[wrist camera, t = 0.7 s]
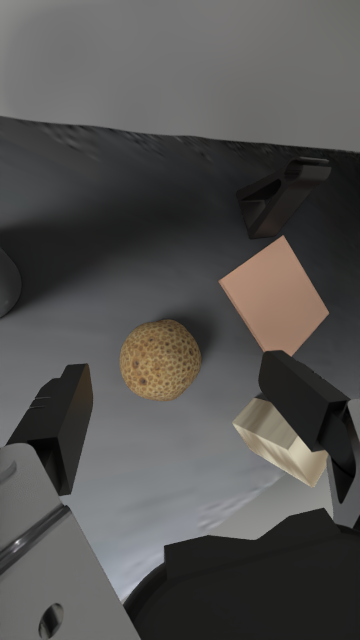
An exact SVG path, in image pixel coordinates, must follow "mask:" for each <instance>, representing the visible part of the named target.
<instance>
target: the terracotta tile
mask: <svg viewBox="0 0 360 640" xmlns="http://www.w3.org/2000/svg"><path fill="white" fill-rule="evenodd" d="M219 283H220V284H221V286H222V288H223V289H224V291H225V292H226V294H227V295H228V297H229V299H230V300H231V302H232V303H233V305H234V306H235V308H236V309H237V311H238V313H239V314H240V316H241V317H242V319H243V320H244V322H245V323H246V325H247V327H248V328H249V330H250V331H251V333H252V334H253V336H254V337H255V339H256V341H257V342H258V344H259V345H260V347H261V348H262V350H263V352H265V351H271V350H283V351H284V352H286V353H287V354H288V355H290V356H292V355H293V354H294V353H295V352H296V351H297V349H298V348H299V347H300V346H301V345H302V344H303V343H304V341H305V340H306V339H307V338H308V337H309V336H310V335H311V333H312V332H313V331H314V330H315V329H316V328H317V327H318V325H319V324H320V323H321V322H322V321H323V320H324V319H325V318H326V316H327V315H328V314H329V312H328V310H327V308H326V307H325V305H324V303H323V302H322V300H321V298H320V297H319V295H318V293H317V291H316V290H315V288H314V286H313V285H312V283H311V281H310V280H309V278H308V276H307V275H306V273H305V271H304V269H303V268H302V266H301V264H300V263H299V261H298V259H297V258H296V256H295V254H294V253H293V251H292V249H291V247H290V246H289V244H288V242H287V241H286V239H285V237H284V236H281V237H280V238H278V239H277V240H276V241H274V242H273V243H271V244H270V245H269V246H267V247H266V248H264V249H263V250H262V251H260V252H259V253H257V254H256V255H255V256H253V257H252V258H250V259H249V260H248V261H246V262H245V263H243V264H242V265H240V266H239V267H238V268H236V269H235V270H233V271H232V272H231V273H229V274H228V275H226V276H225V277H224V278H222V279H221V280H219Z"/></svg>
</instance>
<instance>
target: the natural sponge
mask: <svg viewBox="0 0 360 640" xmlns="http://www.w3.org/2000/svg"><path fill="white" fill-rule="evenodd" d="M201 360H202V358H201V353H200V350H199V347H198V344H197V343H196V341H195V339H194V338H193V336H192V335H191V334H190V333H189V331H188V330H187V329H186V328H185V327H184V326H183V325H181V324H180V323H179V322H177V321H174V320H160V321H156V322H149V323H144V324H142V325H140V326H138V327H137V328H135V329H134V330H133V331H132V332H131V333H130V334H129V336H128V337H127V339H126V340H125V342H124V344H123V345H122V349H121V353H120V361H119V362H120V369H121V373H122V376H123V379H124V381H125V383H126V385H127V386H128V387H129V388H130V390H132V391H133V392H134V393H135V394H137V395H139V396H141V397H143V398H147V399H151V400H157V401H170V400H174V399H176V398H177V397H179V396H180V395H181V394H182V393H183V392H184V391H185V390H186V389H187V388H188V387H189V386H190V384H191V383H192V382H193V381H194V379H195V378H196V376H197V375H198V373H199V371H200V367H201Z"/></svg>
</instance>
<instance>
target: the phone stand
mask: <svg viewBox="0 0 360 640" xmlns="http://www.w3.org/2000/svg"><path fill="white" fill-rule="evenodd" d="M328 162H329V161H328V160H326V159H316V158H306V157H294V158H292V159H291V160H289V161H288V163H287V164H286V165H285V166H284V167H283V168H282V169H281V170H279V171H277V172H275V173H273V174H271V175H269V176H267V177H265V178H263V179H261V180H259V181H257V182H255V183H253V184H251V185H249V186H247V187H245V188H243V189H241V190H239V191H237V192H236V196H237V199H238V202H239V206H240V209H241V212H242V215H243V219H244V222H245V225H246V229H247V232H248V235H249V238H250V239H255V238H264V237H272V236H276V234H277V233H278V232H279V231H280V229H281V228H282V227H283V226H284V224H285V223H286V222H287V221H288V219H289V218H290V217H291V216H292V214H293V213H294V212H295V211H296V209H297V208H298V207H299V206H300V204H301V203H302V202H303V201H304V199H305V198H306V197H307V196H308V194H309V193H310V192H311V191H312V190H313V189H314V188H315V187H316V186H317V185H319V184H320V183H322V182H324V181H325V180H326V179H327V177H328V176H329V174H330V171H331V167H320V166H317V165H318V164H319V163H328ZM273 195H274V197H273V198H272V199H271V200H270V202H269V203H268V204H267V206H266V205H265V202H264V201H265V199H267V198H269V197H271V196H273Z"/></svg>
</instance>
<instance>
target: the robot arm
mask: <svg viewBox="0 0 360 640" xmlns="http://www.w3.org/2000/svg"><path fill="white" fill-rule="evenodd" d="M21 285H22V282H21V276H20V273H19V271H18V269H17V267H16V265H15V264H14V263H13V261H12V260H11V259H10V258H9V257H8V255H7V254H6V253H5V252H4V251H3V250H2V248H1V247H0V317H2V316H3V315H5V314H6V313H7V312H8V311H9V310H10V309H11V308H13V306H14V305H15V303H16V302H17V300H18V298H19V295H20V293H21ZM258 381H259V386H260V389H261V391H262V392H263V393H264V395H265V396H266V397H267V398H268V399H269V401H270V402H271V403H272V404H273V406H274V407H275V408H276V409H277V410H278V412H279V413H280V414H281V415H282V417H283V418H284V419H285V420H286V421H287V423H288V424H289V425H290V426H291V428H292V429H293V430H294V431H295V432H296V434H297V435H298V436H299V437H300V439H301V440H302V441H303V442H304V443H305V445H306V446H307V447H308V448H309V450H310V451H311V452H317V451H323V450H326V452H327V453H328V455H327V458H326V464H327V471H328V477H329V484H330V490H331V497H332V504H333V513H334V514H333V515H334V516H333V520H332V518H331V517H330V516H329V514H328V513H327V511H326V510H325V508H321V509H316V510H312V511H308V512H304V513H300V514H296V515H291V516H289V517H287V518H286V519H284V520H283V521H282V522H280V523H279V524H278V525H276V526H275V527H274V528H272V529H271V530H270V531H268V532H267V533H266V534H264V535H263V536H261V537H260V538H258V539H257V540H247V539H238V538H229V537H219V536H211V535H207V536H203V537H198V538H194V539H190V540H186V541H182V542H177V543H173V544H169V545H165V546H164V563H162V564H161V565H159V566H158V567H156V568H155V569H154V570H153V571H151V572H150V573H149V574H148V575H147V576H146V577H145V578H144V579H143V580H142V581H141V582H140V583H139V584H138V585H137V586H136V588H135V589H134V590H133V591H132V593H131V594H130V595H129V597H128V598H127V600H126V601H125V602H124V604H123V605H122V604H121V602H120V600H119V598H118V596H117V594H116V592H115V590H114V589H113V587H112V585H111V583H110V581H109V579H108V578H107V576H106V574H105V572H104V570H103V568H102V566H101V565H100V563H99V561H98V559H97V557H96V555H95V553H94V552H93V550H92V548H91V546H90V544H89V542H88V540H87V539H86V537H85V535H84V533H83V531H82V529H81V527H80V526H79V524H78V522H77V520H76V518H75V516H74V515H73V513H72V511H71V510H70V508H69V507H68V506H67V505H66V506H64V505H63V503H62V501H61V500H60V498H59V496H63V495H69V494H71V492H72V488H73V484H74V480H75V476H76V472H77V468H78V464H79V460H80V456H81V452H82V448H83V444H84V440H85V436H86V432H87V428H88V424H89V420H90V416H91V412H92V407H93V391H92V384H91V377H90V370H89V365H88V364H73V365H67V366H66V368H65V370H64V372H63V374H62V376H61V377H60V378H54V379H52V380H50V381H49V382H48V383H47V384H45V385H44V386H43V387H42V388H41V389H40V391H39V392H38V394H37V396H36V397H35V400H33V402H32V404H31V405H30V407H29V409H28V410H27V412H26V413H25V415H24V416H23V418H22V420H21V421H20V423H19V424H18V426H17V428H16V429H15V431H14V432H13V434H12V436H11V437H10V439H9V440H8V442H7V444H6V445H5V446H4V447H2V448H0V640H360V399H353V400H351V399H350V398H348V397H347V396H346V395H344V394H343V393H342V392H340V391H339V390H338V389H336V388H335V387H334V386H332V385H331V384H330V383H328V382H327V381H326V380H324V379H322V377H320V376H319V375H318V374H317V373H314V371H313V370H311V369H310V368H309V367H307V366H306V365H304V364H302V363H300V362H298V361H296V360H295V359H294V358H292V357H291V356H290V355H288V354H287V353H286V352H284V351H283V350H271V351H265V352H264V354H263V357H262V363H261V368H260V373H259V380H258Z"/></svg>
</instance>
